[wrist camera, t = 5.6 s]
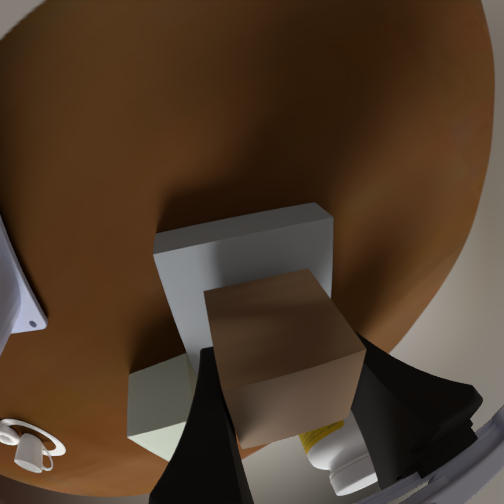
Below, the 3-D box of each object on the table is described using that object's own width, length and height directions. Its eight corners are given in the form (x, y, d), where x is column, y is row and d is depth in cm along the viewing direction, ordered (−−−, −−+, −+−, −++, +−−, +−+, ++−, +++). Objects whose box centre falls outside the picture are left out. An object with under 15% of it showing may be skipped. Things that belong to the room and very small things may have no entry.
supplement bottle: (277, 397, 22) (320, 506, 14) (274, 353, 20) (330, 488, 11) (341, 377, 23) (395, 474, 14) (348, 331, 20) (423, 444, 12)
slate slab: (191, 344, 18) (195, 374, 16) (156, 230, 14) (153, 254, 12) (312, 315, 19) (327, 340, 17) (311, 199, 15) (333, 217, 13)
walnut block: (221, 362, 14) (242, 449, 10) (203, 291, 12) (222, 390, 8) (306, 341, 15) (347, 417, 11) (308, 268, 13) (366, 349, 8)
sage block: (164, 405, 20) (169, 461, 16) (129, 373, 18) (127, 437, 14) (216, 387, 20) (229, 445, 16) (185, 352, 18) (194, 418, 14)
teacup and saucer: (-10, 423, 19) (-17, 452, 15) (1, 402, 17) (-8, 436, 14) (53, 457, 23) (50, 485, 19) (76, 442, 22) (74, 475, 18)
